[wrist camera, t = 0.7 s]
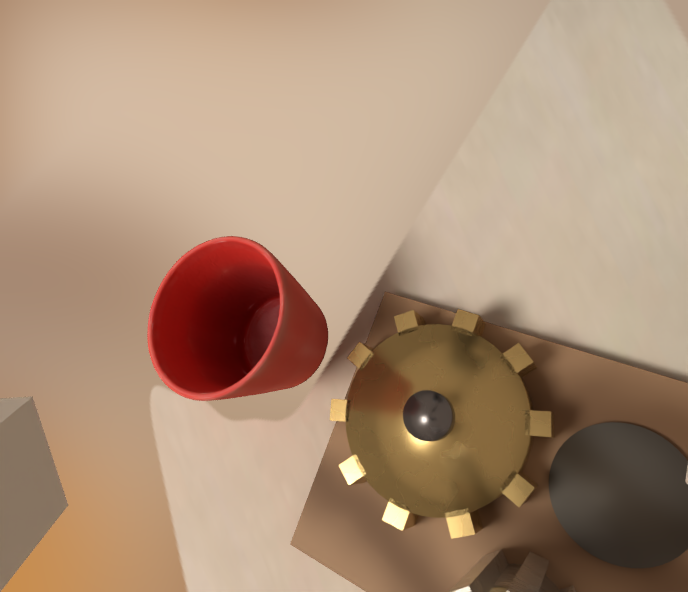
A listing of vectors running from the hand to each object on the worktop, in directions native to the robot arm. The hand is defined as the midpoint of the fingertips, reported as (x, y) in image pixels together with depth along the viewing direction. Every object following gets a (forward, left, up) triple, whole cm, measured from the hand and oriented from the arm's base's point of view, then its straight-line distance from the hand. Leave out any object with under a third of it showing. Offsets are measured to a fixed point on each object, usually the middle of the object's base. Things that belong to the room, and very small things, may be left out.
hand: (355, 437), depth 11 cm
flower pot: (-1, -19, -26) cm, 32 cm away
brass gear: (0, -5, -25) cm, 25 cm away
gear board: (+3, -1, -26) cm, 26 cm away
